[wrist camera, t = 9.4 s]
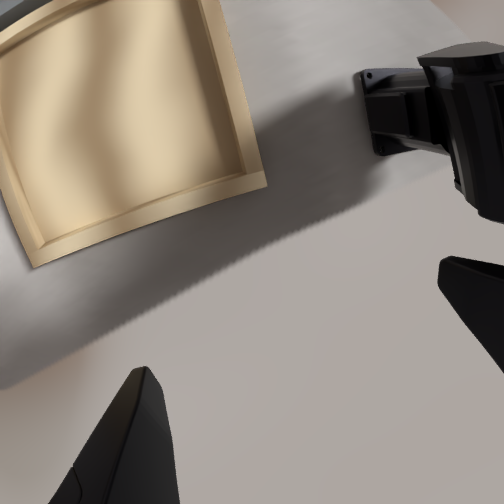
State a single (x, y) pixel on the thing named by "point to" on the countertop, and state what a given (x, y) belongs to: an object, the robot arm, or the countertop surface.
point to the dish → (119, 119)
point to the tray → (17, 10)
